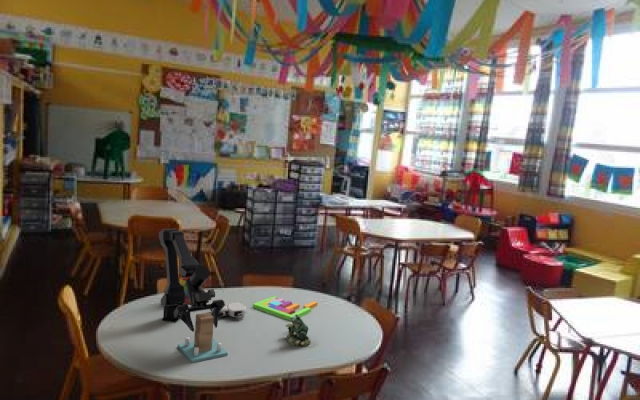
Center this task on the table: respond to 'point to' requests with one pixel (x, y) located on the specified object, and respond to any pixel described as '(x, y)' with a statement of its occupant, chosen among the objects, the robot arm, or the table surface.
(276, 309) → the toy blocks
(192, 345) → the peg plate
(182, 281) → the stacking bear
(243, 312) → the robot toy
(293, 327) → the frog figurine
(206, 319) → the walnut pillar
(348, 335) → the table surface
